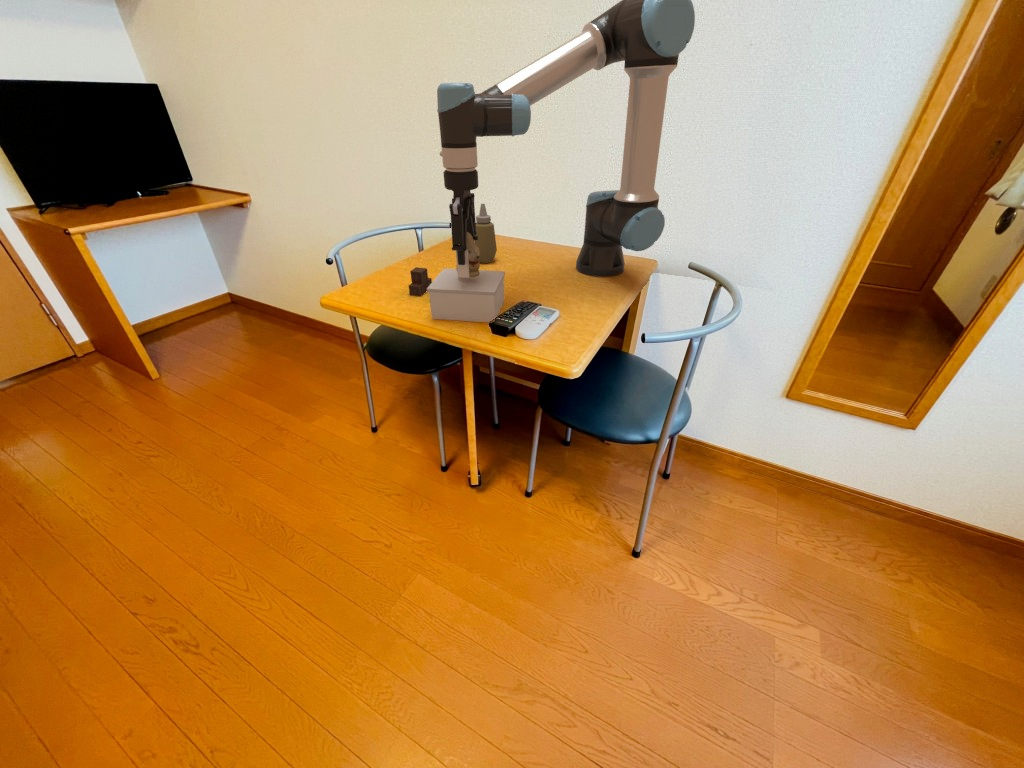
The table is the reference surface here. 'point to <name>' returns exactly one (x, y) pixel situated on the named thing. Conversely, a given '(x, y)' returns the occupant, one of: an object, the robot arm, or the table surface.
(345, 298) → the table surface
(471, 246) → the chocolate bunny
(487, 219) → the squeeze bottle
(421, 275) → the stack of crates
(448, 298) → the storage box
